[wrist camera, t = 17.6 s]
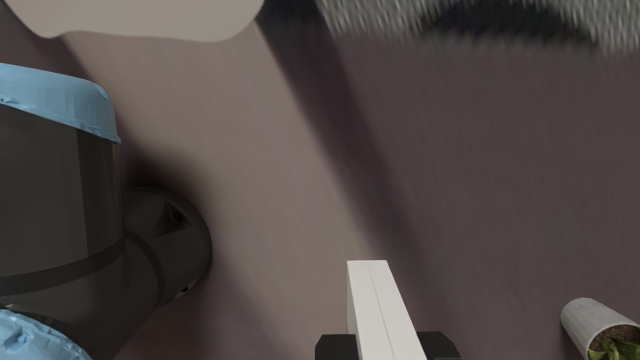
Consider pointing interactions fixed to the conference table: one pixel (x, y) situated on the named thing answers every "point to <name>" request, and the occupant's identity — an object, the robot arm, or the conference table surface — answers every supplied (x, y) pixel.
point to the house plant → (600, 331)
